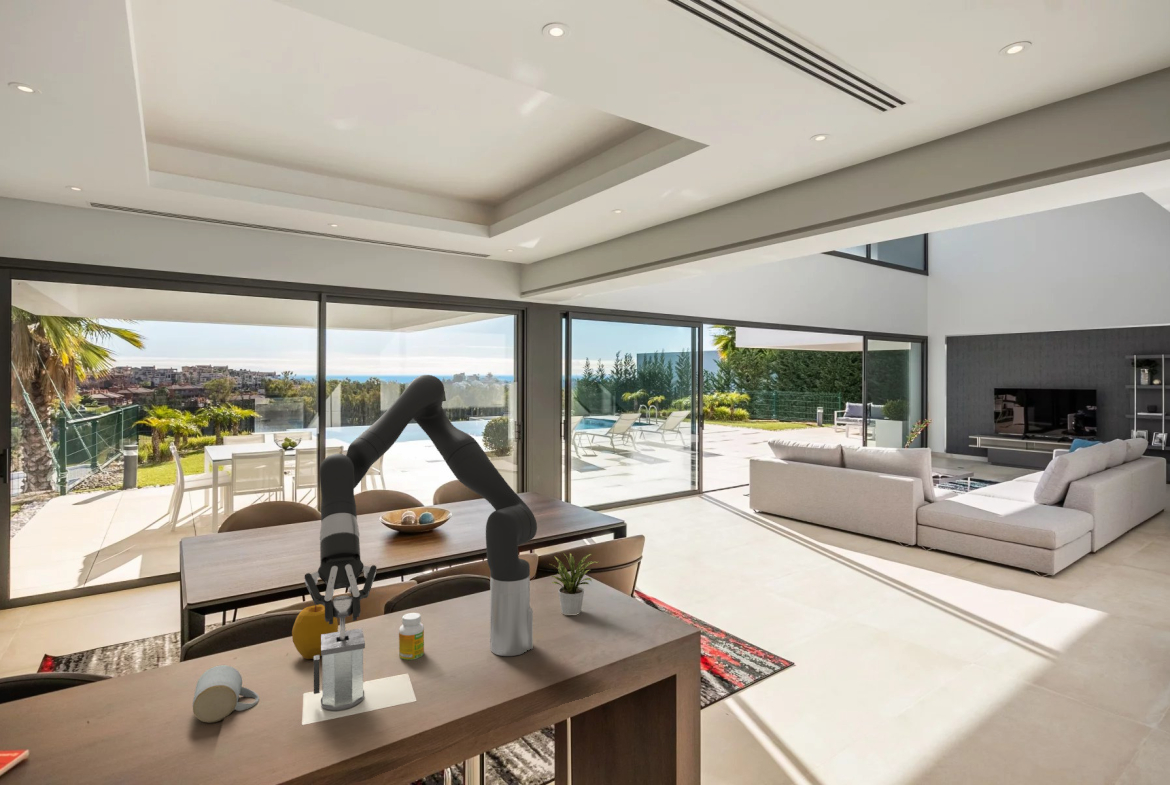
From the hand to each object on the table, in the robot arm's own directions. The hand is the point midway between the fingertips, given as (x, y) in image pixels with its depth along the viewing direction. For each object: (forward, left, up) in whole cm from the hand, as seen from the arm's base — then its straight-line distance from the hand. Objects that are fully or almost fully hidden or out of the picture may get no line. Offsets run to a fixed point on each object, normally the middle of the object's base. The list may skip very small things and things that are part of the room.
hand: (342, 620), depth 113 cm
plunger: (0, -2, -11) cm, 11 cm away
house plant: (-60, -27, -17) cm, 68 cm away
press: (0, -2, -16) cm, 16 cm away
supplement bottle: (-15, -17, -18) cm, 29 cm away
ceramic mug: (+20, -9, -18) cm, 28 cm away
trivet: (-3, -2, -17) cm, 18 cm away
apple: (+5, -27, -17) cm, 33 cm away
